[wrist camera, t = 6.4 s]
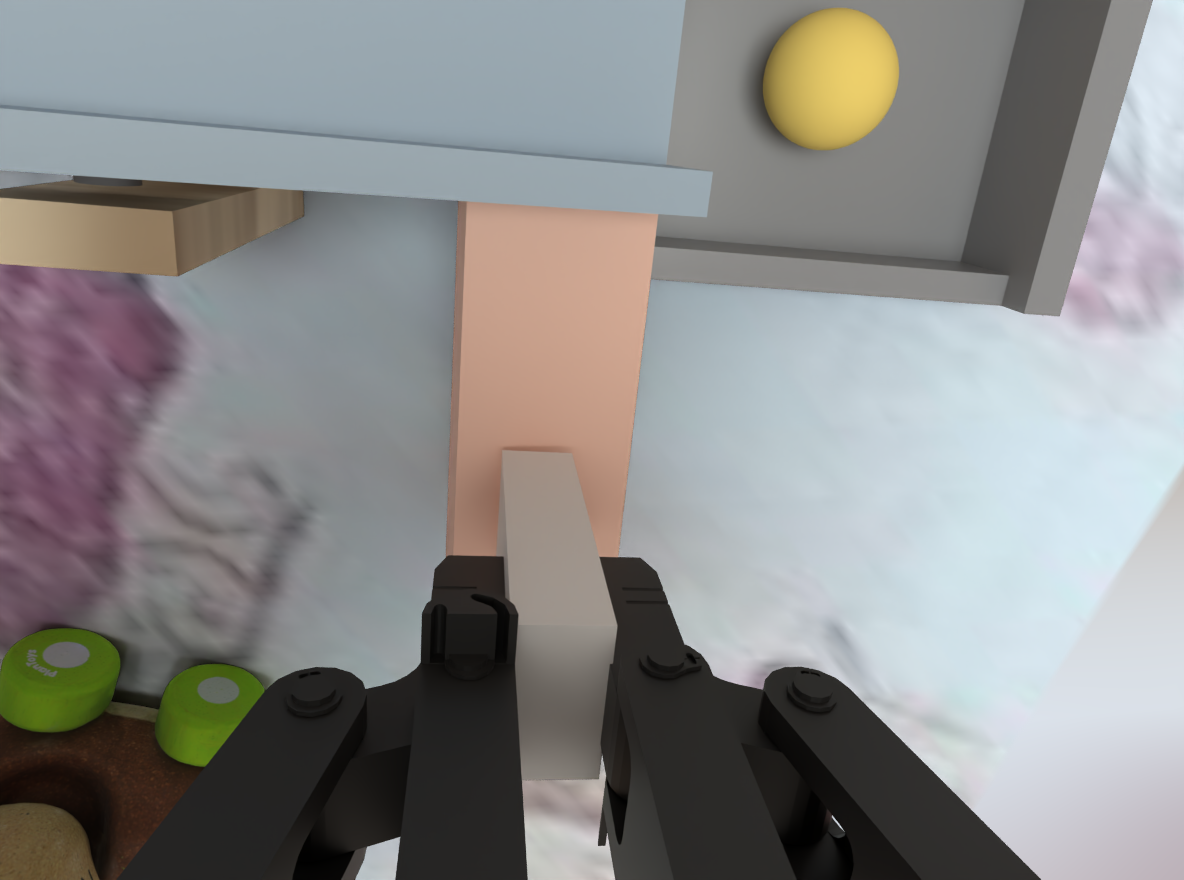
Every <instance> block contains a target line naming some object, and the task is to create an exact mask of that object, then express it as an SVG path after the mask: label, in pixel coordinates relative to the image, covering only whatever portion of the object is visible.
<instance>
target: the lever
mask: <svg viewBox="0 0 1184 880" xmlns="http://www.w3.org/2000/svg"><path fill="white" fill-rule="evenodd" d="M685 2H686V0H0V170H1V171H16V172H31V173H46V174H61V175H73V179H74V182H76V183H82V184H90V185H102V186H142V180H151V181H167V182H182V183H197V184H212V185H227V186H242V187H257V188H272V189H287V190H302V191H317V192H332V193H348V194H363V195H378V196H393V197H408V198H423V199H438V200H453V201H458V222H457V251H456V279H455V307H454V336H453V364H452V393H451V421H450V449H449V478H448V506H447V534H446V557H447V556H448V555H464V556H496V547H497V530H498V514H499V497H500V480H501V463H502V450H513V451H536V452H559V453H572V455H573V459H574V463H575V466H576V470H577V474H578V478H579V482H580V485H581V489H582V493H583V497H584V501H585V504H586V508H587V512H588V516H589V520H590V523H591V527H592V531H593V535H594V539H595V542H596V546H597V550H598V554H599V557H618V552H619V544H620V535H621V527H622V518H623V510H624V501H625V493H626V484H627V476H628V467H629V459H630V450H631V442H632V433H633V425H634V416H635V408H636V399H637V391H638V382H639V374H640V365H641V357H642V348H643V340H644V331H645V323H646V314H647V306H648V297H649V289H650V280H651V272H652V263H653V255H654V246H655V238H656V229H657V221H658V214H664V215H679V216H694V217H707V212H708V205H709V198H710V190H711V183H712V176H713V172H712V171H705V170H699V169H692V168H685V167H678V166H672V165H666V162H667V154H668V145H669V137H670V129H671V120H672V112H673V103H674V95H675V86H676V78H677V69H678V61H679V53H680V44H681V36H682V27H683V19H684V10H685Z"/></svg>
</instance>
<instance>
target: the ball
mask: <svg viewBox="0 0 1184 880" xmlns="http://www.w3.org/2000/svg"><path fill="white" fill-rule="evenodd" d="M898 80H899V62H898V56H897V52H896V49H895V46H894V44H893V41H892V39H891V38H890V36H889V34H888V33H887V32H886V30H885V29H884V28H883V27H882V25H881V24H879V23H878V22H877V21H876V20H875V19H873V18H872V17H870V16H869V15H867V14H865V13H863V12H860V11H858V10H853V9H849V8H828V9H823V10H819V11H816V12H814V13H811V14H809V15H807V16H805V17H803V18H801V19H800V20H798V21H797V22H796V23H794V24H793V25H792V26H791V27H790V28H789V29H788V30H786V31H785V32H784V34H783V35H782V36H781V37H780V38H779V40H778V41H777V43H776V44H775V46H774V48H773V50H772V51H771V54H770V56H769V58H768V61H767V64H766V67H765V72H764V78H763V97H764V102H765V107H766V109H767V112H768V115H769V117H770V119H771V121H772V123H773V124H774V125H775V127H776V128H777V129H778V130H779V132H780V133H781V134H782V135H783V136H784V137H786V138H787V139H788V140H790V141H791V142H793V143H795V144H797V145H799V146H802V147H804V148H808V149H813V150H834V149H839V148H842V147H846V146H849V145H851V144H853V143H855V142H857V141H859V140H860V139H862V138H863V137H865V136H866V135H867V134H869V133H870V132H871V131H872V130H873V129H874V128H875V127H876V126H877V125H878V124H879V123H880V122H881V121H882V119H883V118H884V116H885V115H886V113H887V112H888V110H889V108H890V106H891V104H892V102H893V99H894V97H895V94H896V90H897V86H898Z"/></svg>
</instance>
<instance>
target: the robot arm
mask: <svg viewBox="0 0 1184 880" xmlns="http://www.w3.org/2000/svg"><path fill="white" fill-rule="evenodd" d="M602 755H603V761H604V766H605V772H606V781H605V789H604V797H603V805H602V813H601V821H600V829H599V839H598V846H605V844H606V836H607V833H608V839H609V845H610V851H611V857H612V862H613V868H614V874H615V880H1041V879H1040V878H1039V877H1038V876H1037V875H1036V874H1035V873H1034V872H1033V871H1032V870H1031V869H1030V868H1029V867H1028V866H1027V865H1026V864H1025V863H1024V862H1023V861H1022V860H1021V859H1020V858H1019V857H1018V856H1017V855H1016V854H1015V853H1014V852H1013V851H1012V850H1011V849H1010V848H1009V847H1008V846H1007V845H1006V844H1005V843H1004V842H1003V841H1002V840H1001V839H1000V838H999V837H998V836H997V835H996V834H995V833H994V832H993V831H992V830H991V829H990V828H989V827H987V825H986V824H985V823H984V822H983V821H982V820H981V819H980V818H979V817H978V816H977V815H976V814H975V813H974V812H973V811H972V810H971V809H970V808H969V807H968V806H967V805H966V804H965V803H964V802H963V801H962V800H961V799H960V798H959V797H958V796H957V795H956V794H955V793H954V792H953V791H952V790H951V789H950V788H949V787H948V786H947V785H946V784H945V783H944V782H943V781H942V780H941V779H940V778H939V777H938V776H937V775H936V774H935V773H934V772H933V771H932V770H931V769H930V768H929V767H928V766H927V765H926V764H925V763H924V762H923V761H922V760H921V759H920V758H919V757H918V756H917V755H916V754H915V753H914V752H913V751H912V750H911V749H910V748H909V747H908V746H907V745H906V744H905V743H904V742H903V741H902V740H901V739H900V738H899V737H898V736H897V735H896V734H895V733H894V732H893V731H892V730H891V729H890V728H889V727H888V726H887V725H886V724H885V723H884V722H883V721H882V720H881V719H880V718H879V717H877V716H876V715H875V714H874V713H873V712H872V711H871V710H870V709H869V708H868V707H867V706H866V705H865V704H864V703H863V702H862V701H861V700H860V699H859V698H858V697H857V696H856V695H855V694H854V693H853V692H852V691H851V690H850V689H849V688H848V687H847V686H846V685H844V684H843V683H842V682H840V681H839V680H838V679H836V678H834V677H832V676H830V675H828V674H825V673H823V672H821V671H818V670H814V669H809V668H804V667H784V668H782V669H779V670H776V671H773V672H772V673H771V674H770V675H769V676H768V677H767V678H766V679H765V683H764V688H763V690H761V689H757V688H752V687H747V686H743V685H738V684H734V683H731V682H727V681H724V680H721V679H719V678H717V677H715V676H713V674H712V672H711V669H710V667H709V665H708V663H707V662H706V660H705V659H704V658H703V656H702V655H701V654H700V653H698V652H697V651H695V650H694V649H692V648H691V647H689V646H687V645H684V642H683V640H682V637H681V634H680V632H679V629H678V627H677V624H676V621H675V619H674V616H673V613H672V611H671V608H670V606H669V605H668V600H667V598H666V595H665V593H664V591H663V587H662V585H661V582H660V579H659V577H658V574H657V572H656V571H655V570H654V569H653V568H651V567H650V566H649V565H648V564H647V563H646V562H645V561H643V560H642V559H641V558H629V557H599V554H598V550H597V546H596V542H595V539H594V535H593V531H592V527H591V523H590V520H589V516H588V512H587V508H586V504H585V501H584V497H583V493H582V489H581V485H580V482H579V478H578V474H577V470H576V466H575V463H574V459H573V455H572V453H559V452H536V451H513V450H502V463H501V480H500V497H499V514H498V530H497V547H496V556H464V555H448V556H447V557H446V558H445V559H444V560H443V561H442V562H441V563H440V564H439V565H438V566H437V568H436V569H435V572H434V581H433V589H432V598H431V601H430V602H428V603H427V604H426V606H425V608H424V610H423V612H422V635H421V663H420V664H419V666H418V667H417V668H416V669H415V670H414V671H412V672H411V673H410V674H409V675H407V676H405V677H403V678H401V679H399V680H397V681H395V682H392V683H389V684H385V685H382V686H378V687H373V688H369V689H365V687H364V685H363V682H362V681H361V680H360V679H359V678H357V677H356V676H355V675H353V674H352V673H350V672H347V671H344V670H340V669H337V668H324V667H314V668H309V669H304V670H299V671H295V672H293V673H291V674H289V675H286V676H284V677H282V678H280V679H278V680H277V681H276V682H274V683H273V684H272V685H271V686H270V687H269V688H268V689H266V690H265V691H264V693H263V694H262V695H261V697H260V698H259V699H258V700H257V702H256V703H255V704H254V705H253V707H252V708H251V709H250V710H249V712H248V713H247V714H246V716H245V717H244V718H243V719H242V721H241V722H240V723H239V724H238V726H237V727H236V728H235V730H234V731H233V732H232V733H231V735H230V736H229V737H228V738H227V740H226V741H225V742H224V744H223V745H222V746H221V747H220V749H219V750H218V751H217V752H216V754H215V755H214V756H213V757H212V759H211V760H210V761H209V763H208V764H207V765H206V766H205V768H204V769H203V770H202V771H201V773H200V774H199V775H198V777H197V778H196V779H195V780H194V782H193V783H192V784H191V785H190V787H189V788H188V789H187V790H186V792H185V793H184V794H183V796H182V797H181V798H180V799H179V801H178V802H177V803H176V804H175V806H174V807H173V808H172V810H171V811H170V812H169V813H168V815H167V816H166V817H165V818H164V820H163V821H162V822H161V824H160V825H159V826H158V827H157V829H156V830H155V831H154V832H153V834H152V835H151V836H150V837H149V839H148V840H147V841H146V843H145V844H144V845H143V846H142V848H141V849H140V850H139V851H138V853H137V854H136V855H135V857H134V858H133V859H132V860H131V862H130V863H129V864H128V865H127V867H126V868H125V869H124V870H123V872H122V873H121V874H120V876H119V877H118V878H117V879H116V880H355V878H356V876H357V874H358V872H359V869H360V867H361V865H362V863H363V861H364V857H365V852H366V848H367V846H371V845H374V844H377V843H381V842H384V841H387V840H391V839H394V838H397V837H400V845H399V854H398V862H397V871H396V879H395V880H528V878H527V861H526V844H525V827H524V810H523V792H522V780H578V779H599V774H600V765H601V757H602ZM832 815H833V816H834V818H835V819H836V820H837V821H838V823H839V824H840V825H841V827H842V828H843V830H844V831H845V832H844V831H843V830H842V829H841V828H840V827H839V826H838V825H837V823H836V822H835V821H834V820H833V818H832Z"/></svg>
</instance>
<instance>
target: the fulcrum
mask: <svg viewBox="0 0 1184 880" xmlns="http://www.w3.org/2000/svg"><path fill="white" fill-rule="evenodd" d="M303 216H304V200H303V191H302V190H287V189H272V188H257V187H242V186H227V185H212V184H197V183H182V182H167V181H151V180H142V186H102V185H90V184H82V183H76V182H74V180H68V181H60V182H52V183H44V184H37V185H29V186H21V187H13V188H5V189H0V264H8V265H22V266H37V267H51V268H65V269H79V270H94V271H108V272H122V273H136V274H151V275H165V276H179V275H182V274H184V273H186V272H188V271H190V270H192V269H194V268H196V267H198V266H200V265H203V264H205V263H207V262H209V261H211V260H213V259H215V258H217V257H219V256H221V255H223V254H226V253H228V252H230V251H232V250H234V249H236V248H238V247H240V246H242V245H244V244H247V243H249V242H251V241H253V240H255V239H257V238H259V237H261V236H263V235H265V234H268V233H270V232H272V231H274V230H276V229H278V228H280V227H282V226H284V225H286V224H288V223H291V222H293V221H295V220H297V219H299V218H301V217H303Z"/></svg>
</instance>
